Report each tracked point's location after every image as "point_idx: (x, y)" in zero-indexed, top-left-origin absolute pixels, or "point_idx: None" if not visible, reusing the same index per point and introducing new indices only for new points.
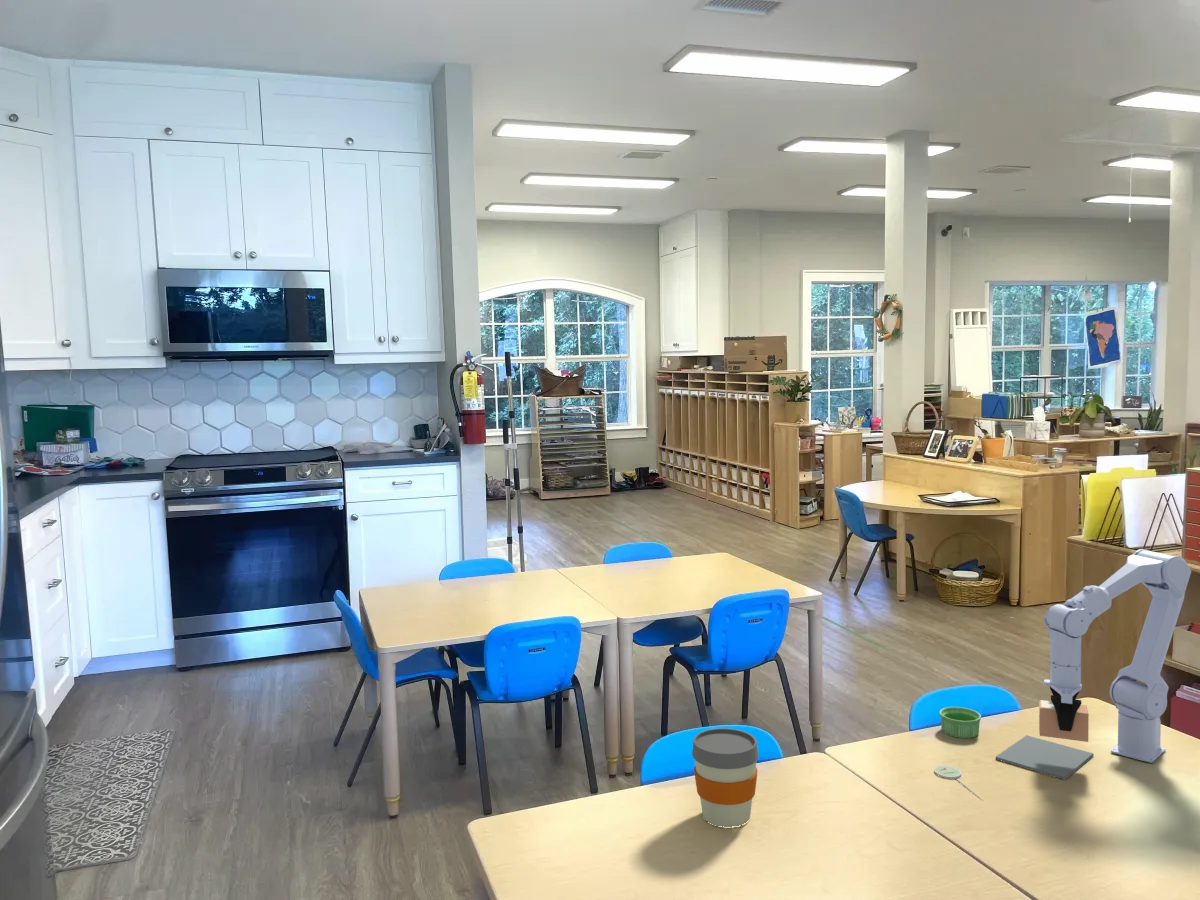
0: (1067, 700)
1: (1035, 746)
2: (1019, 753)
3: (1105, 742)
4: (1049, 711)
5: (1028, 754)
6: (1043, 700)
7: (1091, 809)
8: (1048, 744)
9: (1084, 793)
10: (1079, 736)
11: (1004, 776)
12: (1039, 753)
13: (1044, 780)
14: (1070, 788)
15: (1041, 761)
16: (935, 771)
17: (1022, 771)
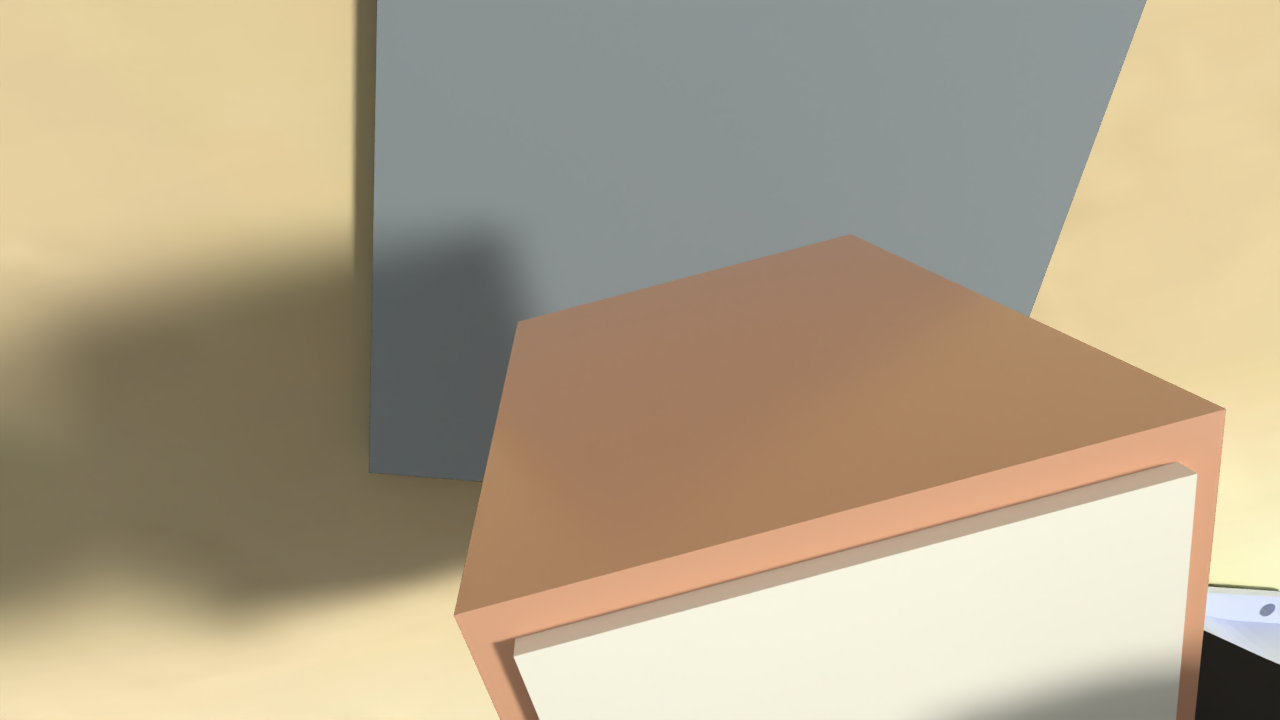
0: None
1: (899, 118)
2: (638, 21)
3: (1226, 509)
4: None
5: (661, 109)
6: (1183, 541)
7: (27, 686)
8: (996, 208)
9: (247, 603)
10: None
11: (28, 18)
12: (746, 191)
13: (249, 345)
14: (256, 522)
15: (569, 251)
16: None
17: (292, 142)
